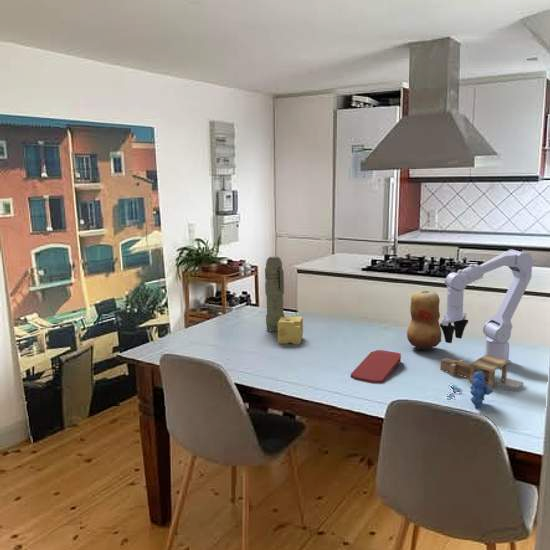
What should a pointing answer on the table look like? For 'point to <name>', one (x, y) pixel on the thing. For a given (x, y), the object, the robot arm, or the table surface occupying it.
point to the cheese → (290, 330)
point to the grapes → (479, 388)
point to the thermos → (274, 292)
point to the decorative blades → (455, 389)
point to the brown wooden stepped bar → (461, 368)
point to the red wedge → (376, 366)
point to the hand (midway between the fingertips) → (453, 340)
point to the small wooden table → (489, 367)
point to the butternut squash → (424, 320)
